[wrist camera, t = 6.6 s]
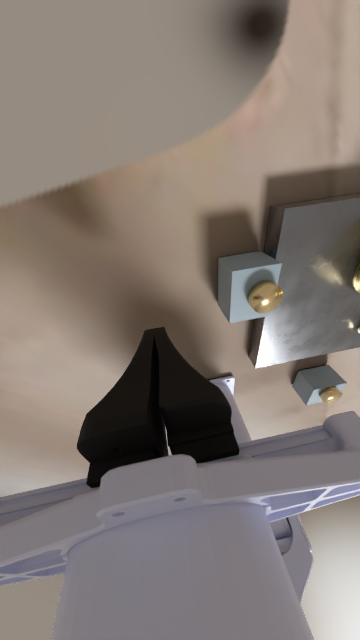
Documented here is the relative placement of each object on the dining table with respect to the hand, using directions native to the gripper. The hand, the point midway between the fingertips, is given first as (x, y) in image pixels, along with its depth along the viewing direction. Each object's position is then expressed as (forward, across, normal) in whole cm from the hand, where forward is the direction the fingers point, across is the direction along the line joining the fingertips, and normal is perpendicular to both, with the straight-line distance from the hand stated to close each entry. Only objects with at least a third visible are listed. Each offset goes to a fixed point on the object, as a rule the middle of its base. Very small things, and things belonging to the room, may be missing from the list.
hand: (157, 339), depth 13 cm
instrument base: (+7, -20, +3) cm, 21 cm away
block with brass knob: (+7, -9, 0) cm, 11 cm away
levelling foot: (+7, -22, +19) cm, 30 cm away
